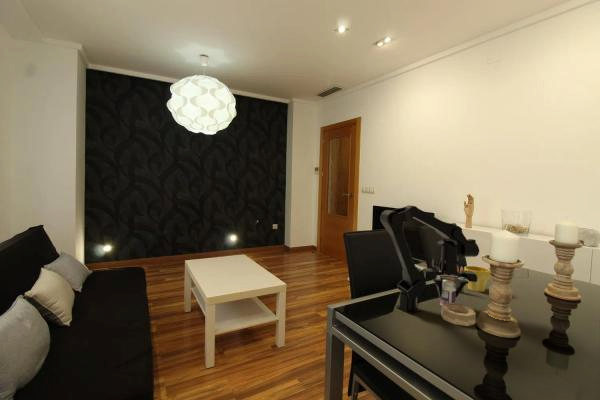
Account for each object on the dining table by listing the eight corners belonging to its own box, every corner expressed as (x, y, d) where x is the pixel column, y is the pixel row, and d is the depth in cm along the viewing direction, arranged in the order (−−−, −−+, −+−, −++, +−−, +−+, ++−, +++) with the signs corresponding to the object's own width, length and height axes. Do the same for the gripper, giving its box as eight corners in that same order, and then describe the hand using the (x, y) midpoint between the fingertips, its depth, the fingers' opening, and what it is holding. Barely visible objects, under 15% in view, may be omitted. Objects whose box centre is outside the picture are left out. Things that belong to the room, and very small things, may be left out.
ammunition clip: (463, 292, 134) (464, 266, 133) (462, 293, 132) (463, 267, 132) (438, 286, 141) (439, 261, 141) (437, 287, 140) (438, 262, 139)
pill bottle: (451, 303, 119) (453, 279, 118) (457, 308, 113) (458, 283, 113) (437, 302, 119) (438, 278, 119) (442, 307, 114) (444, 282, 114)
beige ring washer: (463, 327, 100) (463, 317, 100) (436, 316, 108) (436, 306, 108) (479, 321, 105) (480, 311, 105) (453, 311, 113) (453, 301, 113)
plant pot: (458, 287, 141) (459, 266, 141) (472, 284, 145) (473, 264, 145) (479, 294, 132) (480, 272, 131) (494, 291, 136) (495, 270, 136)
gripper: (466, 253, 122) (464, 291, 123) (419, 251, 125) (417, 288, 125) (479, 260, 111) (477, 301, 112) (427, 257, 114) (425, 297, 114)
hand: (447, 296), depth 116 cm, fingers closed on pill bottle, 5 cm apart
